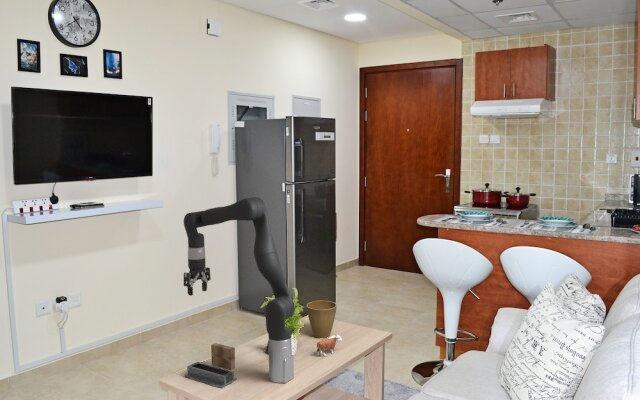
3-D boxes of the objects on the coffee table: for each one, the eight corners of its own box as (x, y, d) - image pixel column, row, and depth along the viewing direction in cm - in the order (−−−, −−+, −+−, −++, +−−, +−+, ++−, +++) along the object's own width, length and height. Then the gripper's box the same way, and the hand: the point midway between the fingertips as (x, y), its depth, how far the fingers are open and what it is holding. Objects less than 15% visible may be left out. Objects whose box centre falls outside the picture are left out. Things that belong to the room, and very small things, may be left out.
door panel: (235, 368, 235) (234, 347, 235) (231, 370, 233) (230, 349, 232) (215, 363, 241) (215, 343, 240) (211, 365, 239) (211, 344, 238)
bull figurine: (343, 352, 253) (343, 334, 252) (319, 358, 246) (319, 340, 245) (337, 349, 257) (337, 332, 256) (313, 355, 249) (313, 338, 248)
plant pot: (304, 332, 280) (304, 301, 279) (333, 330, 283) (333, 299, 281) (309, 342, 266) (309, 309, 264) (339, 340, 268) (339, 308, 267)
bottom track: (236, 380, 224) (236, 370, 223) (221, 388, 216) (221, 378, 216) (200, 369, 234) (200, 360, 234) (184, 377, 227) (184, 367, 226)
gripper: (191, 260, 236) (192, 298, 238) (214, 255, 248) (215, 290, 250) (178, 258, 240) (179, 295, 242) (201, 253, 252) (202, 288, 254)
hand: (197, 293), depth 246 cm, fingers open, 8 cm apart
